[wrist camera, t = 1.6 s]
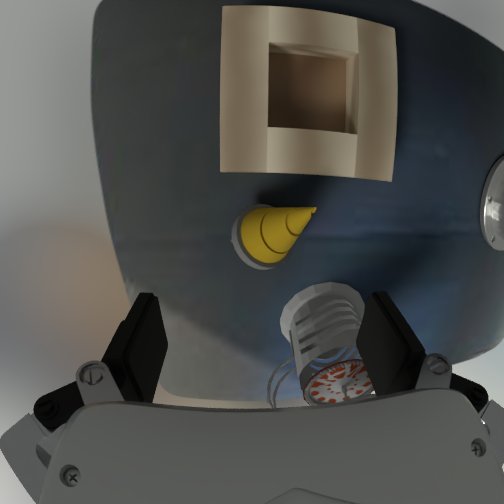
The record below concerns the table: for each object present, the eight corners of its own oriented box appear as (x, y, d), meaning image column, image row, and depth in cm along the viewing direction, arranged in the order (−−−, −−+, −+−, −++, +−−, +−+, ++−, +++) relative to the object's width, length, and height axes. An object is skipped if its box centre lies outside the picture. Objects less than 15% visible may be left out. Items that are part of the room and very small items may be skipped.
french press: (369, 333, 30) (436, 523, 8) (280, 362, 32) (293, 561, 10) (357, 268, 26) (472, 515, 4) (250, 305, 28) (246, 571, 6)
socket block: (376, 39, 17) (394, 28, 13) (372, 172, 22) (391, 181, 19) (227, 23, 17) (222, 6, 13) (225, 165, 22) (220, 172, 19)
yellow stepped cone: (217, 216, 25) (274, 164, 16) (268, 219, 27) (337, 177, 19) (221, 275, 24) (286, 249, 15) (274, 273, 26) (351, 250, 18)
